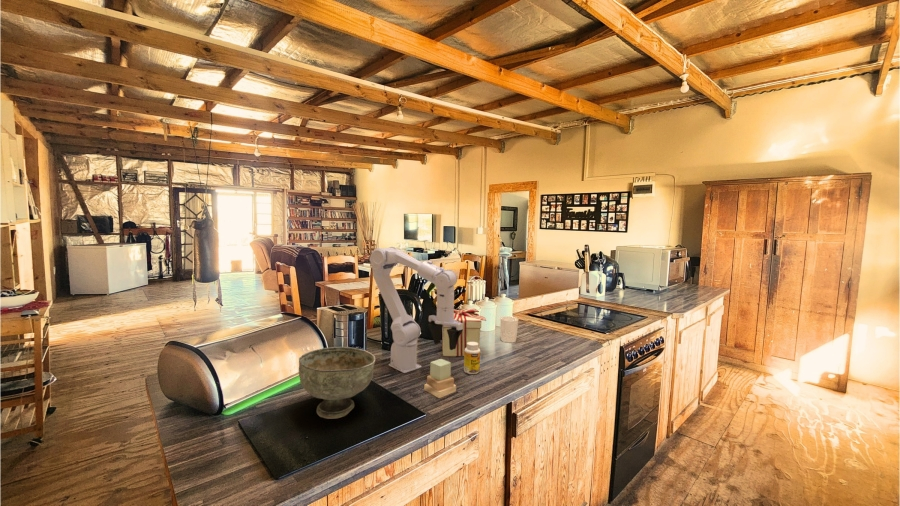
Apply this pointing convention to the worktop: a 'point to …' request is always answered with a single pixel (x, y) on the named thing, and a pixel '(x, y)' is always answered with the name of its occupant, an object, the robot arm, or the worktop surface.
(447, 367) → the cube
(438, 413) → the worktop surface
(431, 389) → the bottom slab
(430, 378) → the top slab
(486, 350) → the worktop surface
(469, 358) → the supplement bottle
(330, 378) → the bowl
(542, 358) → the worktop surface
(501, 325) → the beige speckled cup
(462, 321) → the gift box
